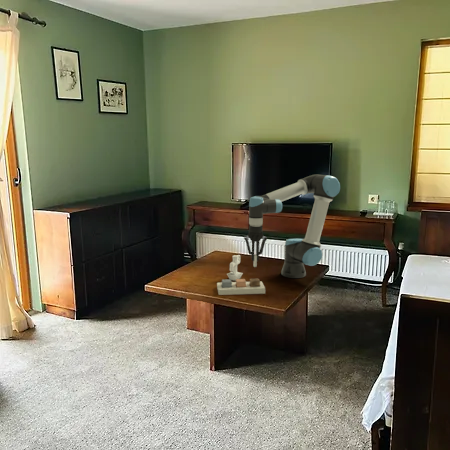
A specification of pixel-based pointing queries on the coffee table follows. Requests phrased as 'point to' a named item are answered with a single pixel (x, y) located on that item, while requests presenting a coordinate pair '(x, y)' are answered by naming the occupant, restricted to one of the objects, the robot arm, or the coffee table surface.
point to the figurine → (234, 268)
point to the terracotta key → (240, 283)
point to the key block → (240, 289)
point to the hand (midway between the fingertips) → (255, 266)
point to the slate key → (226, 283)
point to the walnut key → (254, 282)
